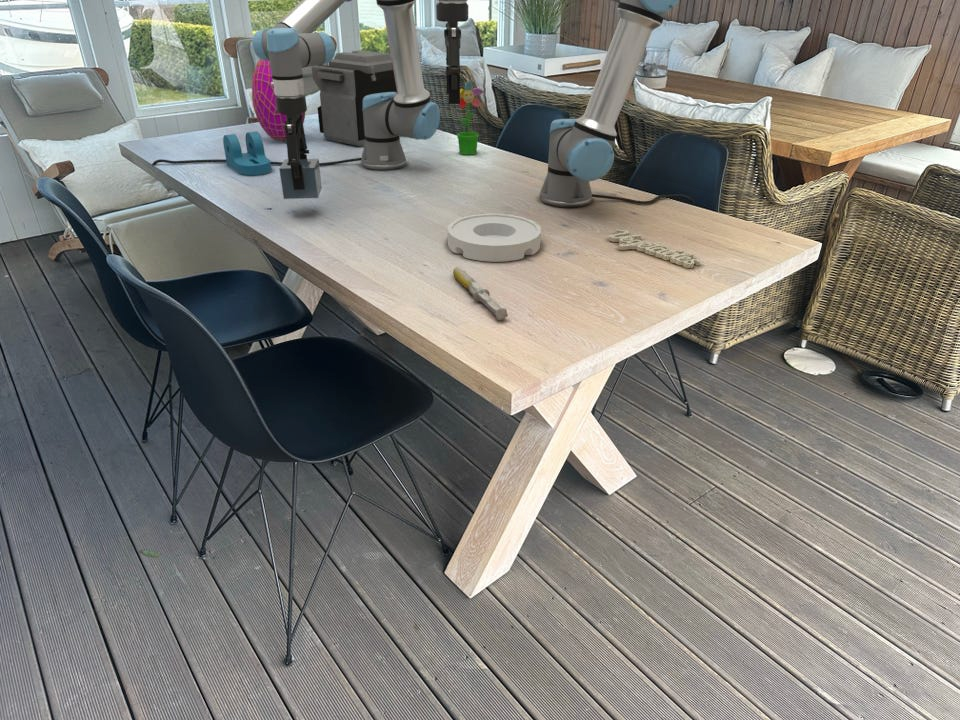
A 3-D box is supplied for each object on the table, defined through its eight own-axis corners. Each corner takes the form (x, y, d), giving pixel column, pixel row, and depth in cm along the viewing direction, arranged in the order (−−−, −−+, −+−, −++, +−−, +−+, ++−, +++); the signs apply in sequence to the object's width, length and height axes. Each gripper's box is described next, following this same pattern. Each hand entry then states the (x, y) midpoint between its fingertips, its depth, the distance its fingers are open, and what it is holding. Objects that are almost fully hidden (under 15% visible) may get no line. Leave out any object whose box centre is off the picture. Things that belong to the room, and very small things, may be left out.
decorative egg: (293, 132, 276) (283, 50, 261) (319, 140, 264) (310, 56, 249) (249, 139, 265) (236, 54, 250) (273, 148, 253) (261, 60, 238)
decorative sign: (595, 237, 174) (620, 228, 179) (594, 240, 174) (619, 231, 180) (683, 268, 157) (708, 257, 162) (683, 272, 157) (707, 261, 163)
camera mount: (227, 164, 233) (221, 132, 227) (257, 160, 238) (252, 129, 233) (244, 176, 220) (239, 143, 215) (276, 172, 225) (271, 139, 220)
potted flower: (461, 156, 246) (461, 82, 233) (452, 151, 252) (451, 78, 239) (485, 153, 249) (486, 80, 237) (475, 148, 255) (475, 77, 243)
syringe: (449, 274, 155) (449, 263, 153) (465, 272, 156) (464, 260, 154) (490, 323, 135) (491, 310, 133) (508, 319, 136) (508, 307, 134)
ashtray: (450, 227, 182) (450, 212, 180) (538, 229, 181) (539, 214, 179) (444, 260, 162) (444, 244, 160) (542, 262, 161) (543, 246, 159)
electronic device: (380, 124, 291) (375, 47, 275) (420, 131, 280) (417, 51, 264) (314, 140, 265) (305, 55, 250) (356, 148, 254) (349, 60, 239)
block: (322, 187, 191) (318, 158, 187) (318, 198, 184) (314, 167, 179) (289, 188, 191) (284, 159, 186) (283, 198, 183) (279, 168, 179)
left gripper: (282, 88, 183) (294, 172, 195) (267, 104, 165) (281, 196, 176) (310, 87, 183) (320, 171, 195) (298, 104, 165) (310, 196, 177)
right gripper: (435, -1, 170) (436, 90, 181) (437, 5, 148) (439, 108, 159) (465, -1, 170) (465, 89, 181) (471, 5, 149) (471, 108, 160)
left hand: (302, 183), depth 186 cm, fingers closed on block, 9 cm apart
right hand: (453, 98), depth 170 cm, fingers open, 13 cm apart
